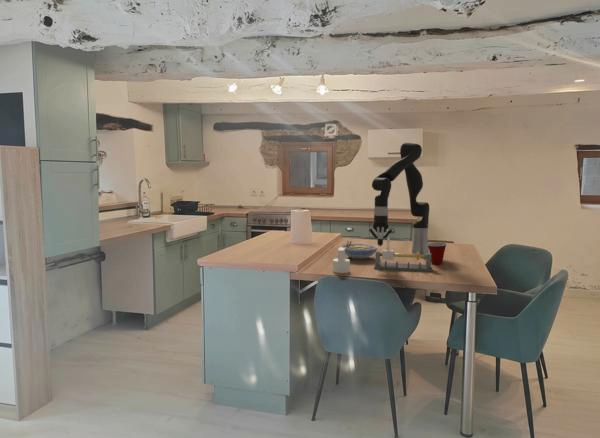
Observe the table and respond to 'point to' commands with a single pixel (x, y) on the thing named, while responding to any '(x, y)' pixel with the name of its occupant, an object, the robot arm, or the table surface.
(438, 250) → the plastic cup
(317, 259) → the table surface
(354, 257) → the ramen bowl
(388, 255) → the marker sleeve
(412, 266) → the cable comb fixture
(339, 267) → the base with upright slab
